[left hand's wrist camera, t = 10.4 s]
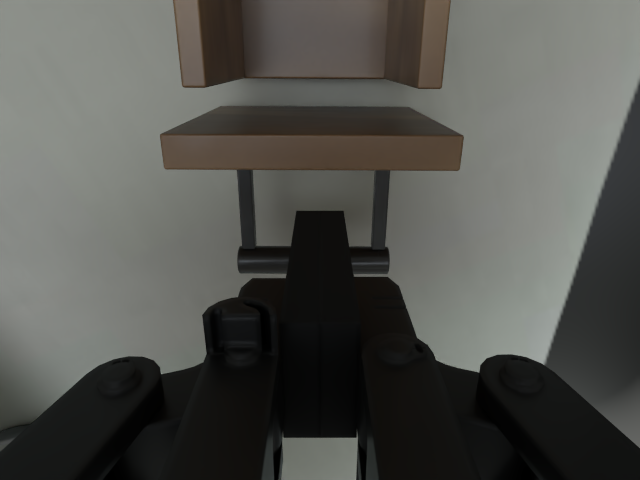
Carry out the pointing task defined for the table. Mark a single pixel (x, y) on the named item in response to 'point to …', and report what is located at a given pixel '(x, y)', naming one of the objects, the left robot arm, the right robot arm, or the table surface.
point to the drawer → (312, 122)
